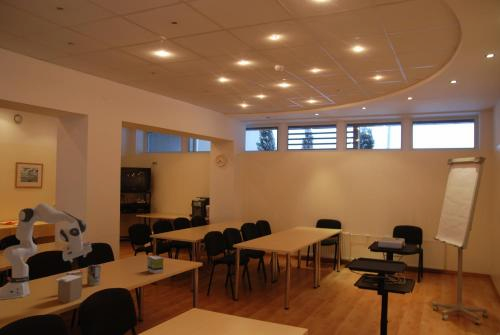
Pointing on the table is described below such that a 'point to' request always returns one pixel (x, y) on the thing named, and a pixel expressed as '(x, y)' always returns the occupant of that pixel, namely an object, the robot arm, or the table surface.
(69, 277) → the flap
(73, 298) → the carton
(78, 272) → the candy bar box
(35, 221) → the robot arm
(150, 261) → the tea box
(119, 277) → the table surface
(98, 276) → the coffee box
